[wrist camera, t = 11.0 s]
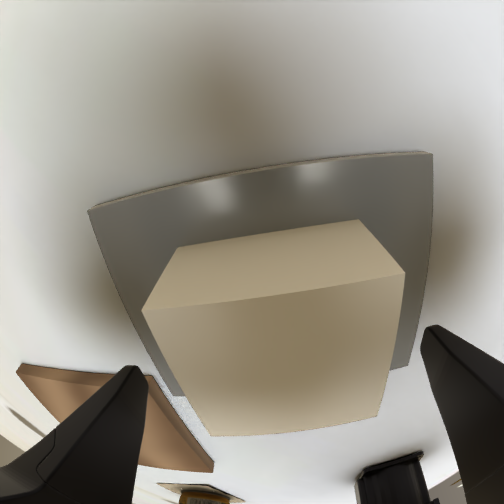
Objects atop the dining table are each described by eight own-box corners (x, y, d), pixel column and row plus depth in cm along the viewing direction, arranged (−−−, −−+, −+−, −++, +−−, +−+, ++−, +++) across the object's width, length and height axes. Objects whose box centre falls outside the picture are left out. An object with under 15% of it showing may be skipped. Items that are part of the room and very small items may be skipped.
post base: (151, 375, 13) (114, 493, 7) (214, 462, 18) (206, 535, 12) (21, 363, 14) (-20, 429, 8) (98, 447, 19) (79, 503, 13)
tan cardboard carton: (356, 351, 11) (376, 416, 8) (220, 369, 12) (210, 436, 9) (358, 219, 9) (405, 272, 6) (177, 247, 9) (141, 310, 6)
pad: (423, 151, 8) (432, 153, 8) (403, 357, 12) (407, 365, 12) (95, 205, 9) (87, 210, 9) (175, 387, 14) (173, 396, 13)
